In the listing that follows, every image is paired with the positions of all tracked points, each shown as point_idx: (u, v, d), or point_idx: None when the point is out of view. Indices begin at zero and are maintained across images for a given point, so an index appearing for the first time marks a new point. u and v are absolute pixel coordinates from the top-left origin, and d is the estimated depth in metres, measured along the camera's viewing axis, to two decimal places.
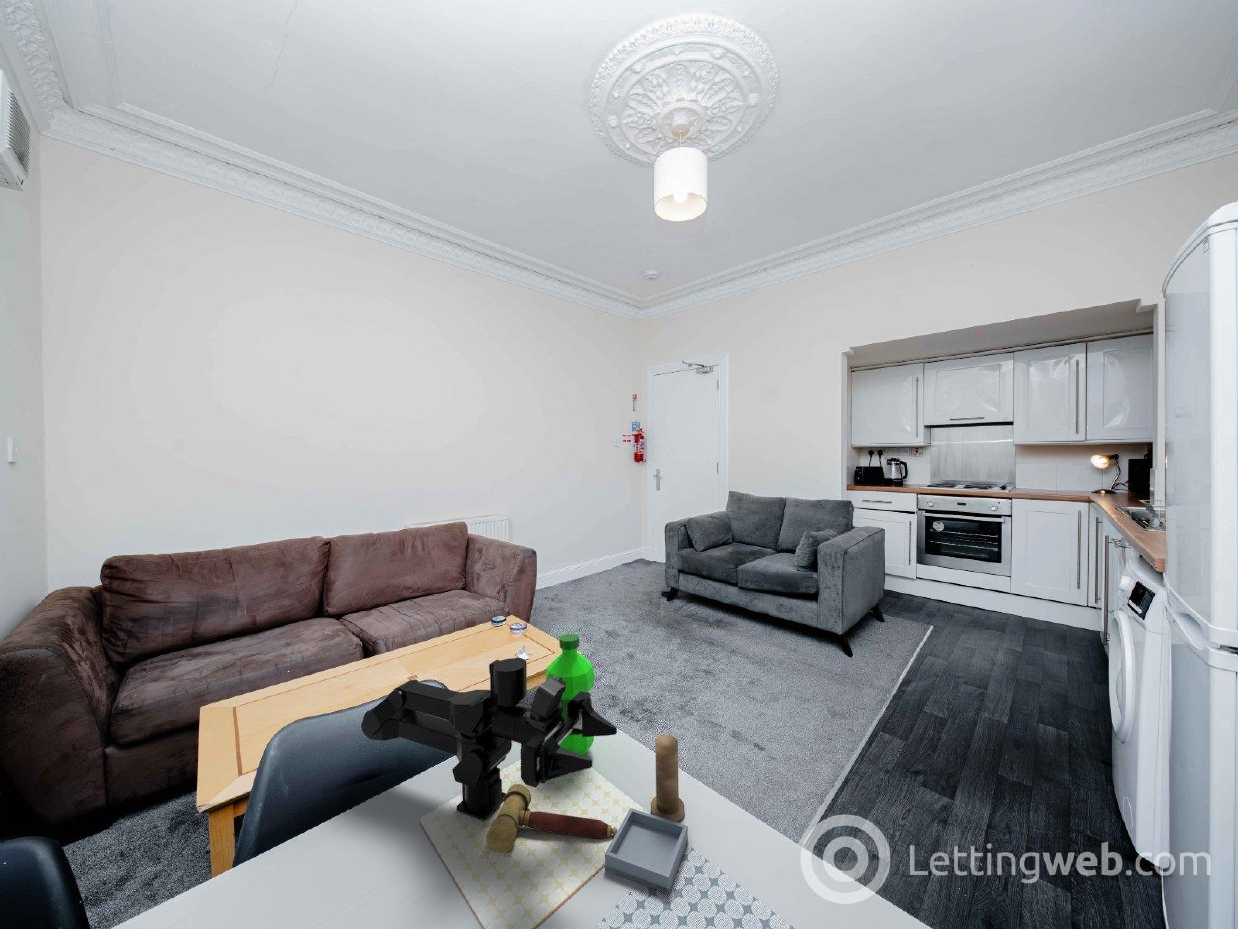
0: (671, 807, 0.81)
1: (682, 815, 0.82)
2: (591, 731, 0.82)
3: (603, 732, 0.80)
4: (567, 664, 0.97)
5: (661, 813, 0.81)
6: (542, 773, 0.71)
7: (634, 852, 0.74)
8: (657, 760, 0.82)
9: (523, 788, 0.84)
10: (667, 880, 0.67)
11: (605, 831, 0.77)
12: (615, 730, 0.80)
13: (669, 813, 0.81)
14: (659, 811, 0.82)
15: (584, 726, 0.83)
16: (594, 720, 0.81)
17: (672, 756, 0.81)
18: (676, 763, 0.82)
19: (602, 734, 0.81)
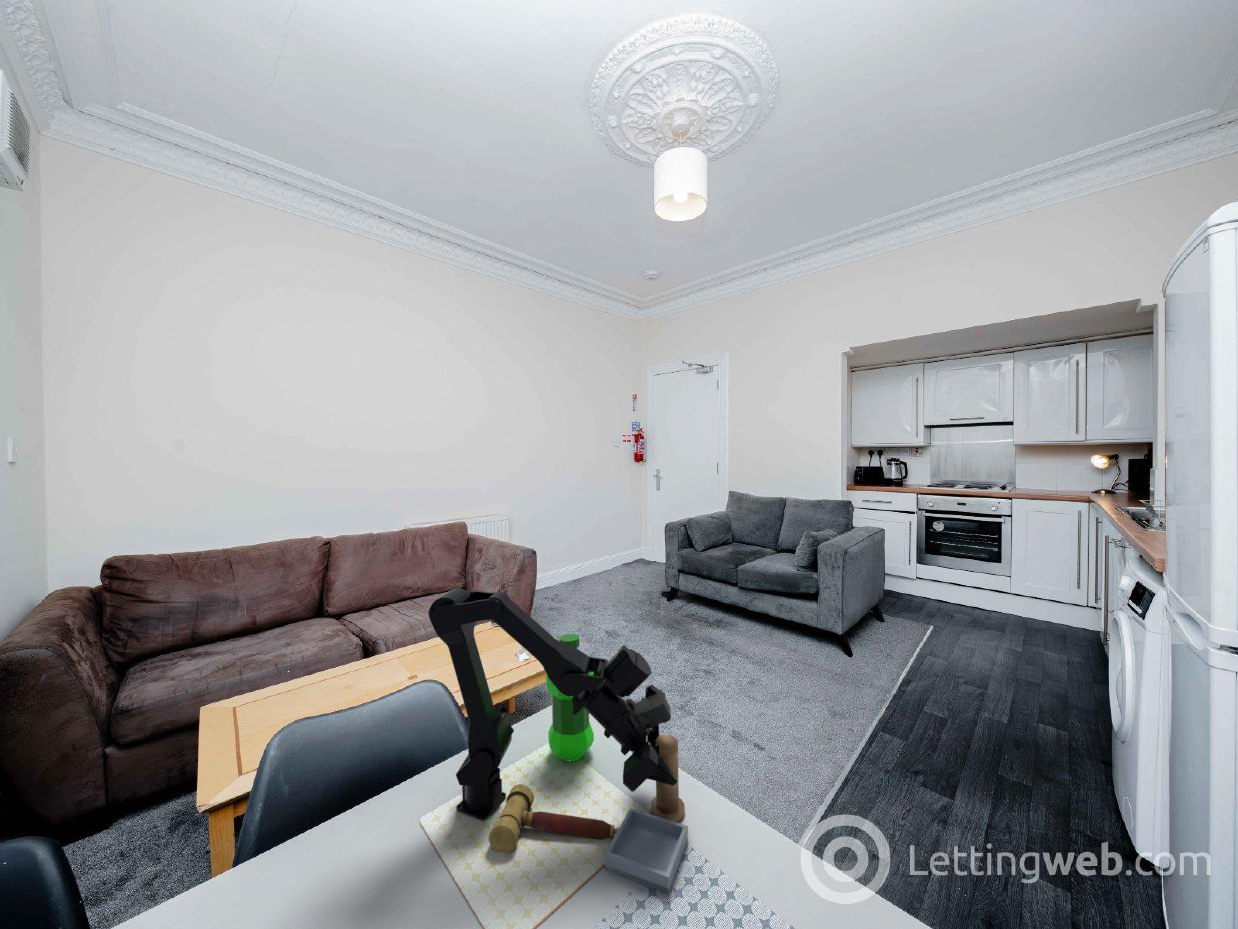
0: (671, 807, 0.81)
1: (682, 815, 0.82)
2: None
3: None
4: None
5: (661, 813, 0.81)
6: None
7: (634, 852, 0.74)
8: None
9: (526, 788, 0.84)
10: (667, 880, 0.67)
11: (608, 831, 0.77)
12: None
13: (669, 813, 0.81)
14: (659, 811, 0.82)
15: None
16: None
17: (672, 756, 0.81)
18: (676, 763, 0.82)
19: None
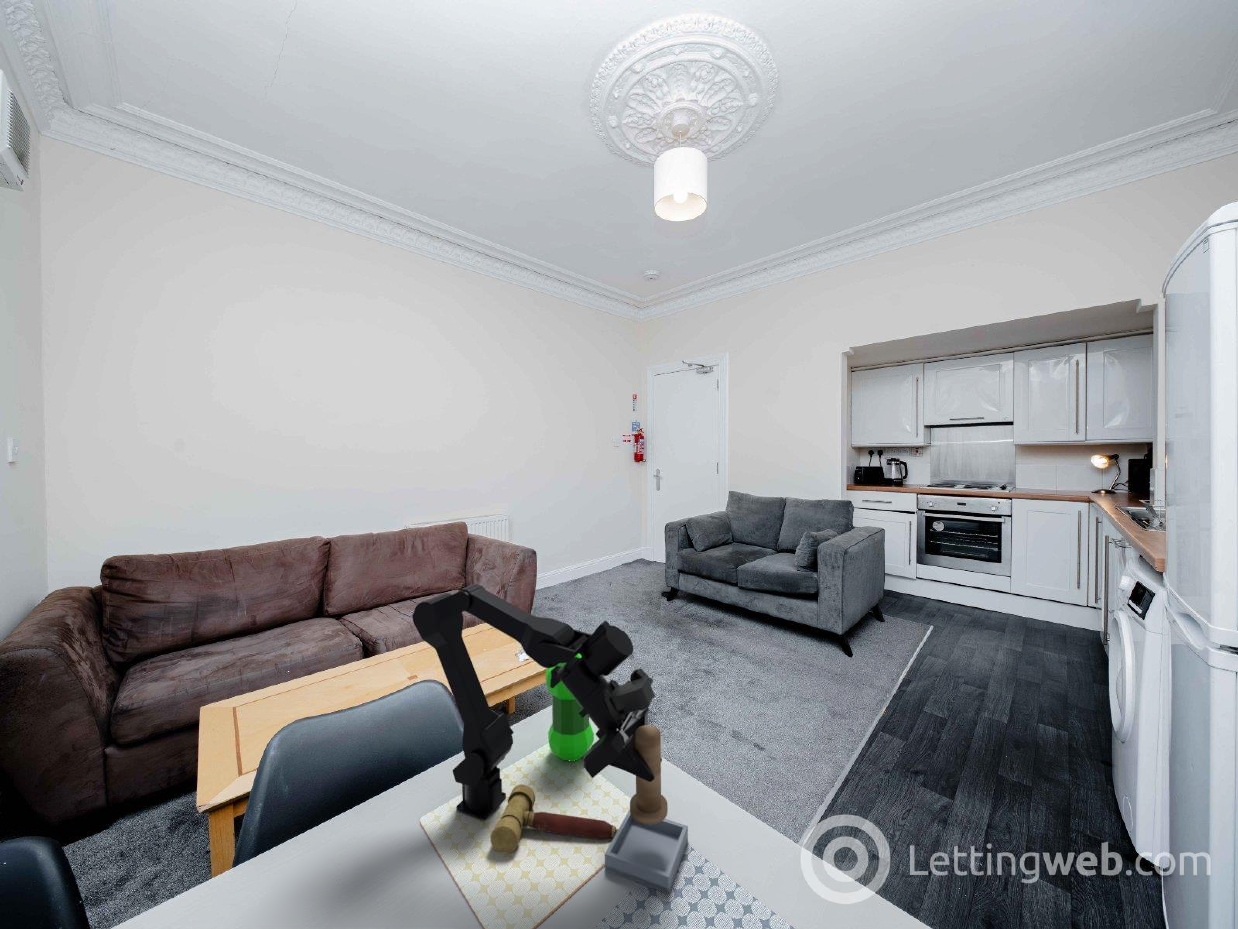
0: (649, 806, 0.73)
1: (661, 817, 0.72)
2: (634, 740, 0.78)
3: None
4: None
5: (638, 810, 0.73)
6: None
7: (634, 852, 0.74)
8: None
9: (527, 788, 0.84)
10: (667, 880, 0.67)
11: (610, 832, 0.77)
12: None
13: (646, 812, 0.73)
14: (637, 807, 0.74)
15: (630, 731, 0.78)
16: None
17: (650, 749, 0.72)
18: (656, 758, 0.73)
19: None
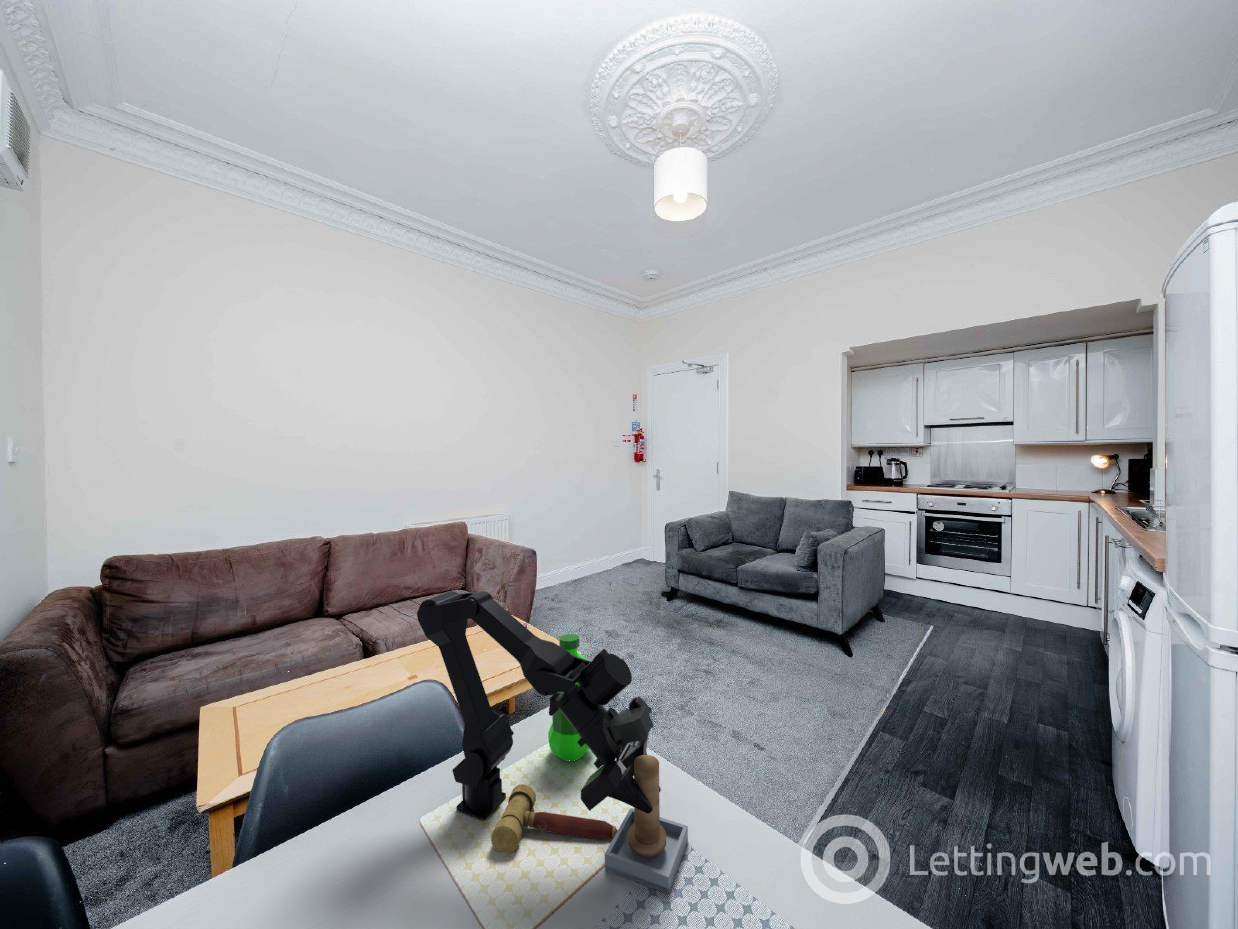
0: (647, 837, 0.72)
1: (659, 849, 0.72)
2: (633, 769, 0.77)
3: None
4: None
5: (636, 841, 0.73)
6: None
7: (634, 852, 0.74)
8: None
9: (528, 788, 0.84)
10: (667, 880, 0.67)
11: (610, 832, 0.77)
12: None
13: (644, 843, 0.72)
14: (635, 838, 0.73)
15: (629, 760, 0.78)
16: None
17: (648, 780, 0.72)
18: (654, 789, 0.72)
19: None
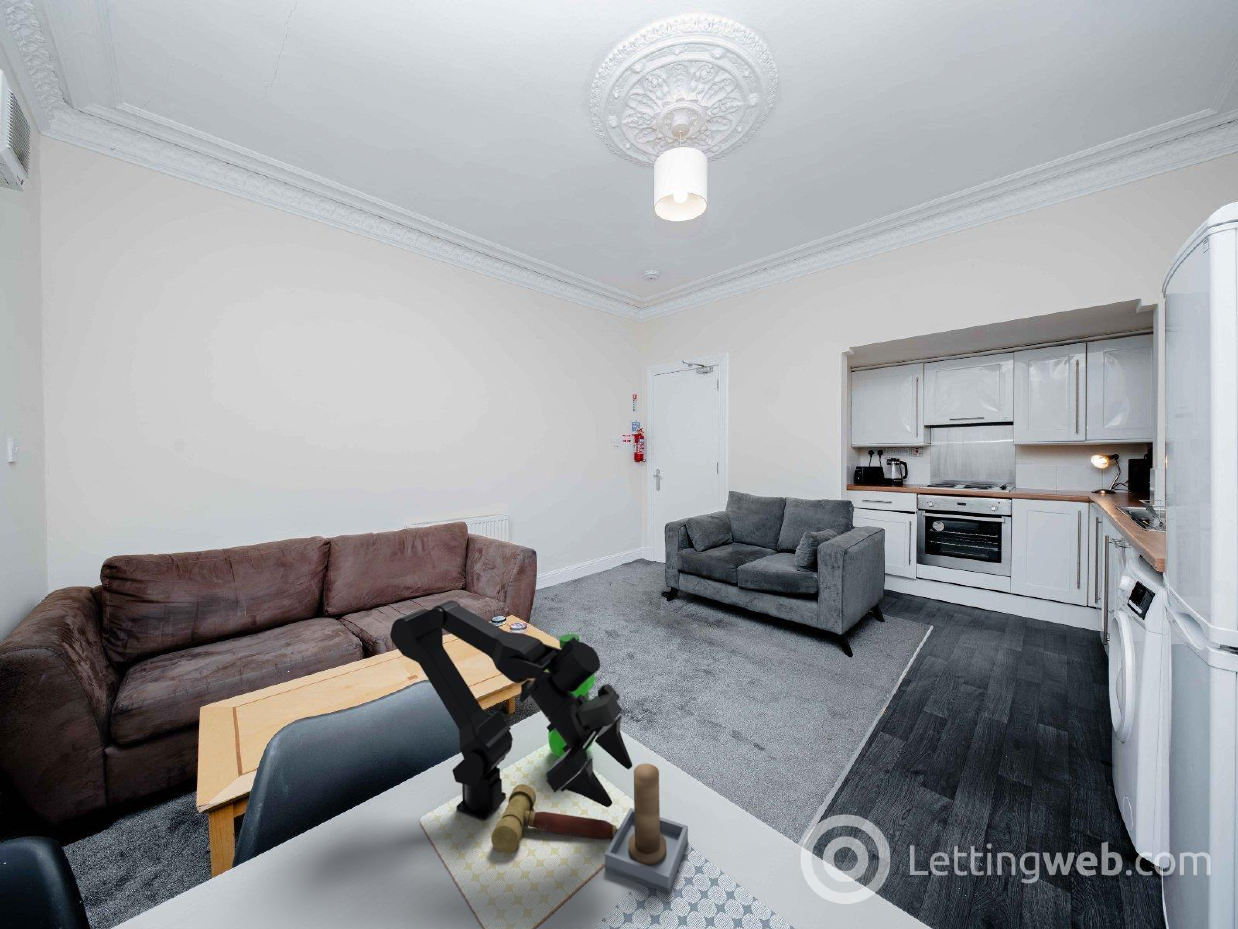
0: (647, 847, 0.72)
1: (660, 859, 0.72)
2: (607, 746, 0.82)
3: (618, 758, 0.81)
4: None
5: (636, 851, 0.73)
6: (567, 786, 0.70)
7: None
8: (634, 790, 0.74)
9: (528, 788, 0.84)
10: (667, 880, 0.67)
11: (610, 832, 0.77)
12: (629, 766, 0.80)
13: (645, 853, 0.72)
14: (636, 847, 0.73)
15: (603, 737, 0.82)
16: (617, 743, 0.81)
17: (648, 790, 0.72)
18: (654, 798, 0.72)
19: (615, 758, 0.81)
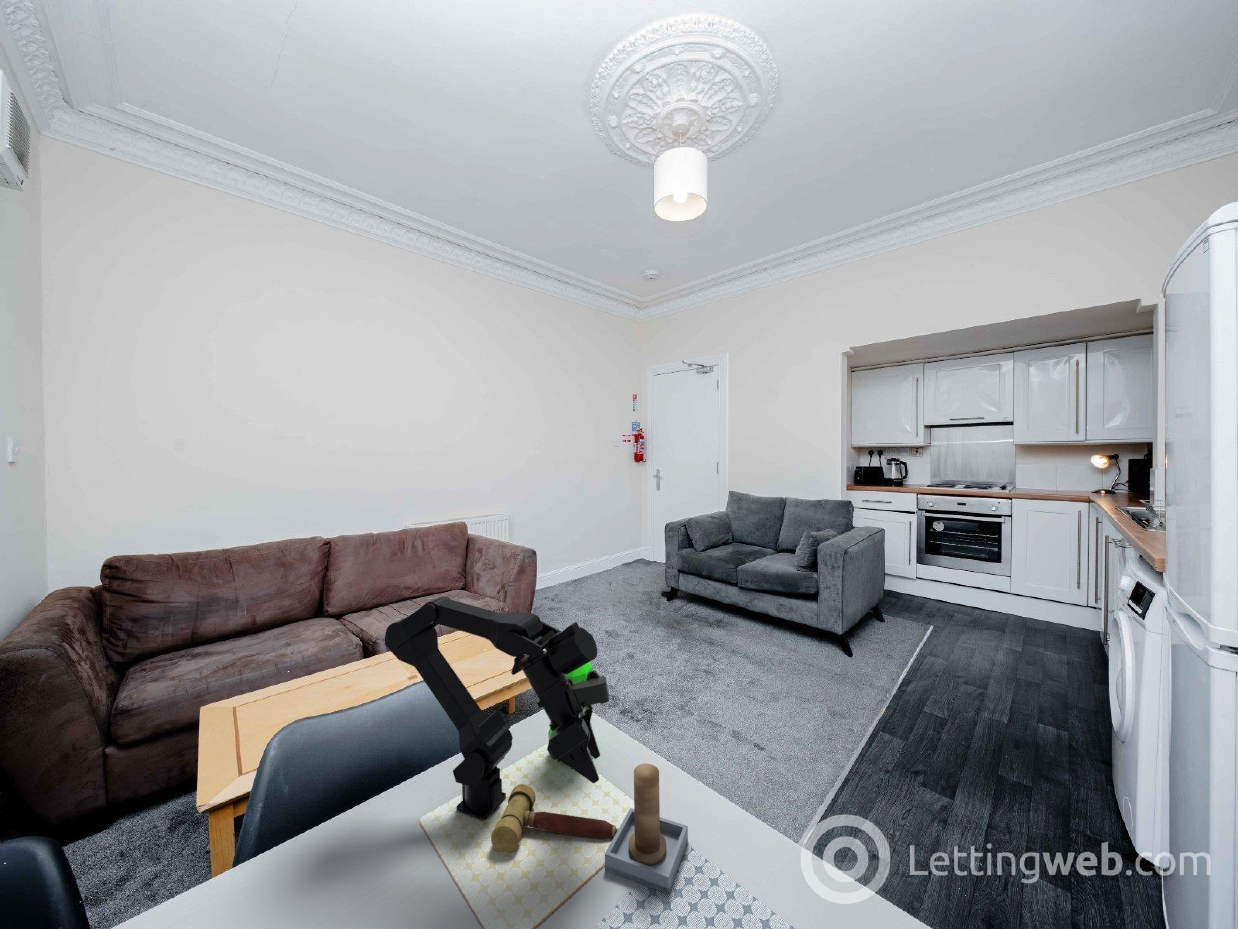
0: (647, 847, 0.72)
1: (660, 859, 0.72)
2: None
3: (587, 747, 0.83)
4: None
5: (636, 851, 0.73)
6: (567, 755, 0.71)
7: None
8: (634, 790, 0.74)
9: (527, 788, 0.84)
10: (667, 880, 0.67)
11: (610, 832, 0.77)
12: (597, 756, 0.83)
13: (645, 853, 0.72)
14: (636, 847, 0.73)
15: None
16: (589, 732, 0.84)
17: (648, 790, 0.72)
18: (654, 798, 0.72)
19: None
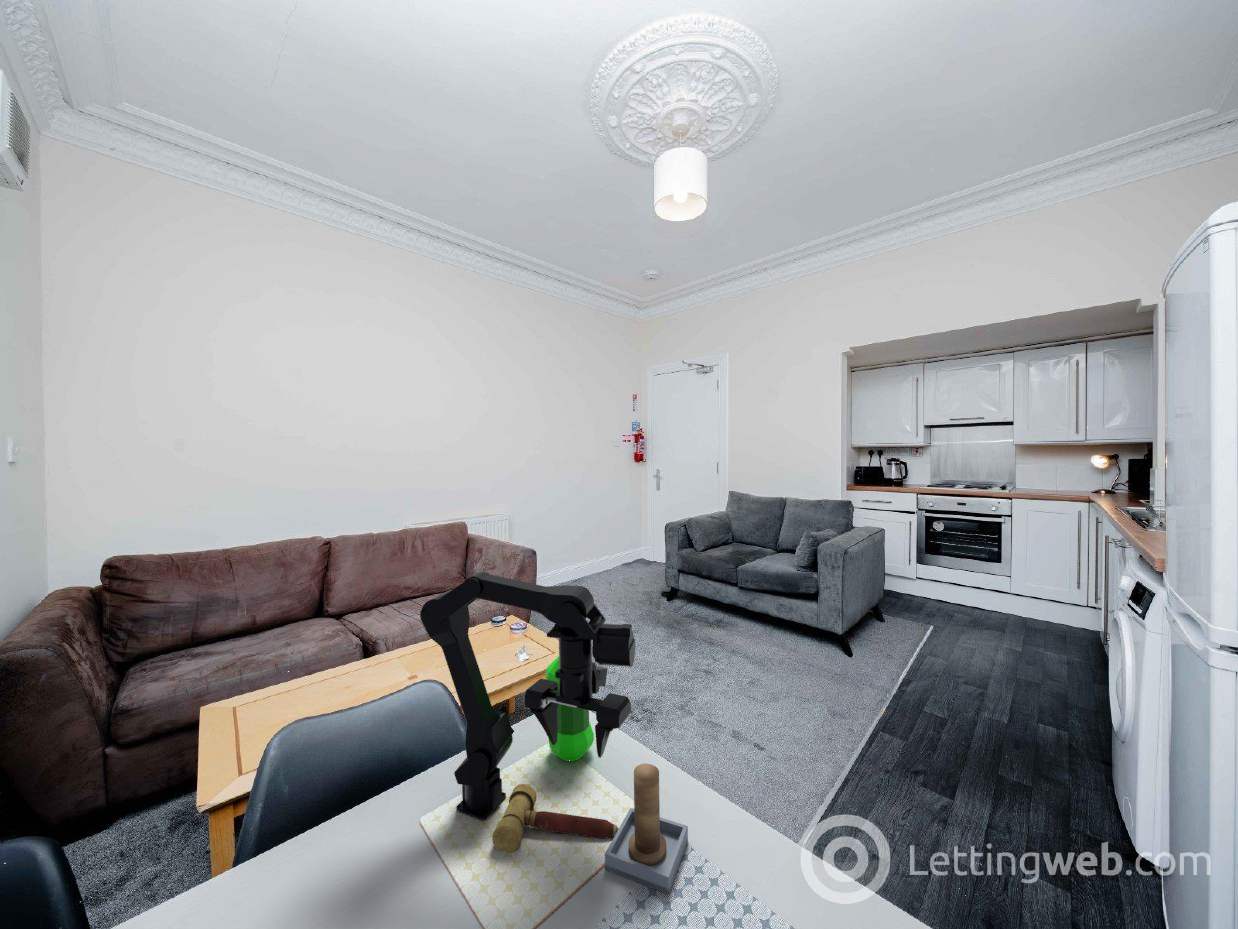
0: (647, 847, 0.72)
1: (660, 859, 0.72)
2: (549, 720, 0.83)
3: (552, 732, 0.83)
4: None
5: (636, 851, 0.73)
6: None
7: None
8: (634, 790, 0.74)
9: (528, 788, 0.84)
10: (667, 880, 0.67)
11: (611, 831, 0.78)
12: (555, 742, 0.84)
13: (645, 853, 0.72)
14: (636, 847, 0.73)
15: (548, 710, 0.83)
16: (555, 717, 0.85)
17: (648, 790, 0.72)
18: (654, 798, 0.72)
19: (550, 732, 0.83)
